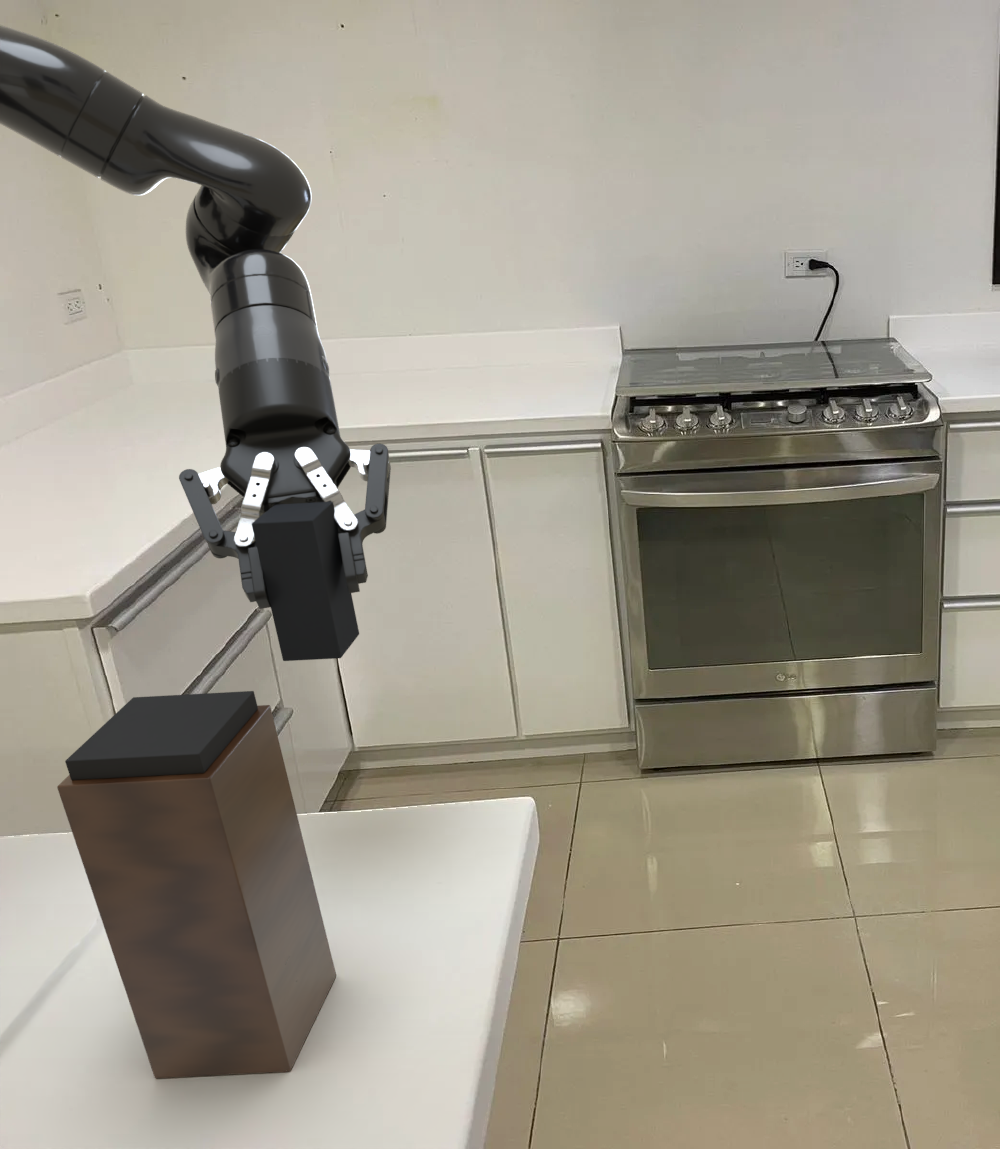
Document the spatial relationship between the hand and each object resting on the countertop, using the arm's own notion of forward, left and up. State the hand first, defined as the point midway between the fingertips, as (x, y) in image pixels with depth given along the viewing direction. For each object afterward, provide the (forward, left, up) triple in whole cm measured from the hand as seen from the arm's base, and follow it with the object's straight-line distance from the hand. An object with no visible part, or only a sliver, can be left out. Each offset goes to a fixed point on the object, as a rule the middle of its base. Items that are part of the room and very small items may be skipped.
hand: (308, 594), depth 75 cm
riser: (-3, -15, -22) cm, 27 cm away
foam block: (-1, +2, -5) cm, 5 cm away
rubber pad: (-3, -15, -2) cm, 16 cm away
